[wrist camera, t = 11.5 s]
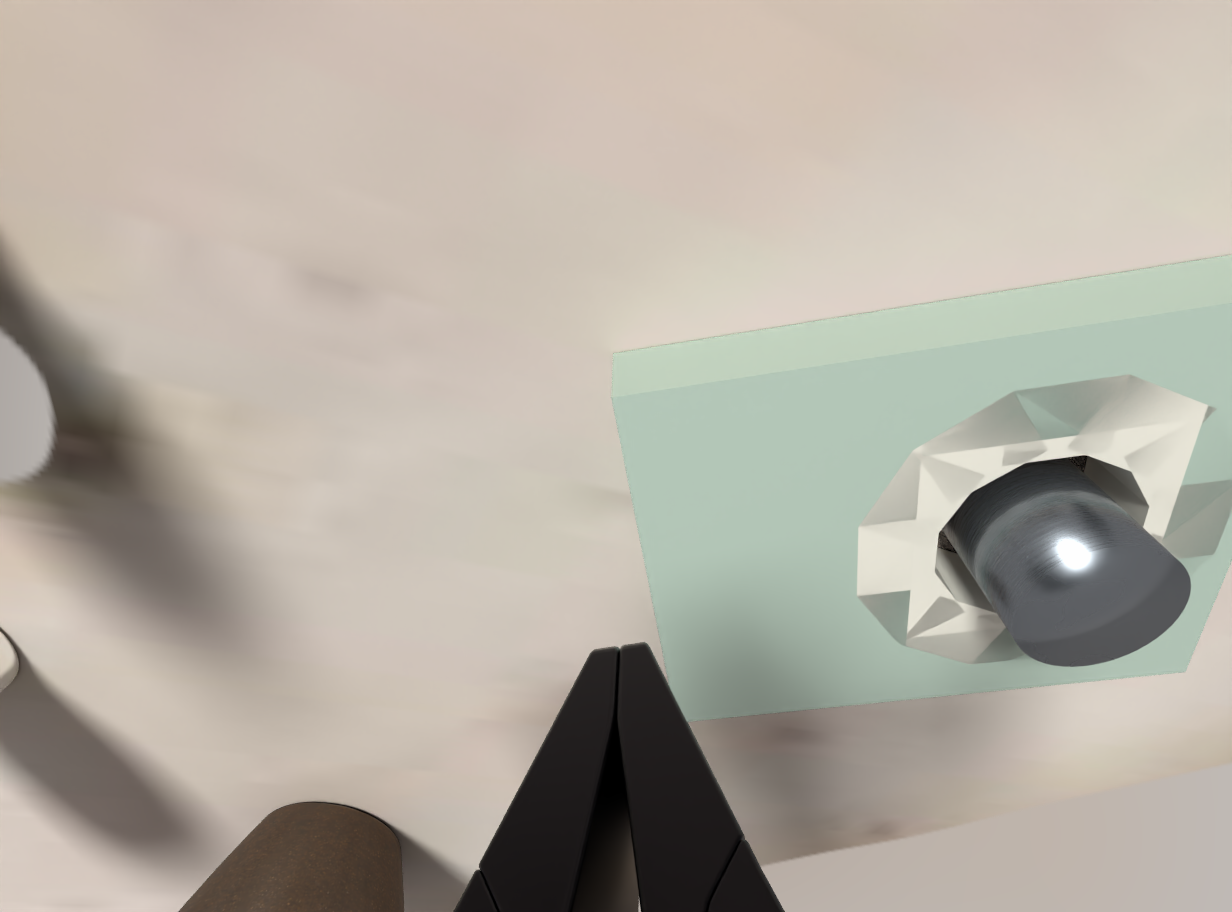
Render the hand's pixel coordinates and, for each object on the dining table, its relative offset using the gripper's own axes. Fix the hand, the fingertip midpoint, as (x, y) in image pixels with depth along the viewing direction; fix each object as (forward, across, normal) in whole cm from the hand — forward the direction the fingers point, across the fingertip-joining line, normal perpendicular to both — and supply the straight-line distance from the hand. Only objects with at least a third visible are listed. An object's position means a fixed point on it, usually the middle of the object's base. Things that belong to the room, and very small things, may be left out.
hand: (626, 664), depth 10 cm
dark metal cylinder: (+12, -12, +7) cm, 18 cm away
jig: (+12, -8, +7) cm, 16 cm away
